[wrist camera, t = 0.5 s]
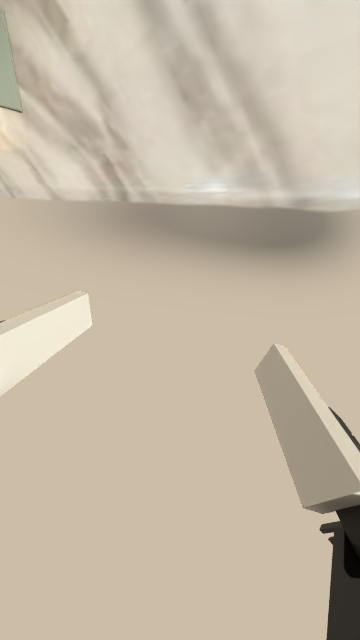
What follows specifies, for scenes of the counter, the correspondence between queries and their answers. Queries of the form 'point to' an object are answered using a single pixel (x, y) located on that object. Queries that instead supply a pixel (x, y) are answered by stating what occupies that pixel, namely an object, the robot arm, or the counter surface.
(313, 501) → the robot arm
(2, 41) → the pad
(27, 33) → the counter surface
